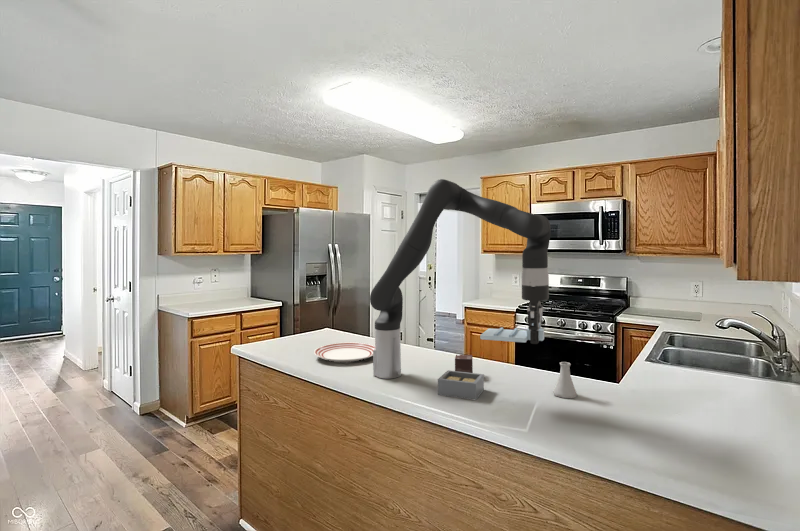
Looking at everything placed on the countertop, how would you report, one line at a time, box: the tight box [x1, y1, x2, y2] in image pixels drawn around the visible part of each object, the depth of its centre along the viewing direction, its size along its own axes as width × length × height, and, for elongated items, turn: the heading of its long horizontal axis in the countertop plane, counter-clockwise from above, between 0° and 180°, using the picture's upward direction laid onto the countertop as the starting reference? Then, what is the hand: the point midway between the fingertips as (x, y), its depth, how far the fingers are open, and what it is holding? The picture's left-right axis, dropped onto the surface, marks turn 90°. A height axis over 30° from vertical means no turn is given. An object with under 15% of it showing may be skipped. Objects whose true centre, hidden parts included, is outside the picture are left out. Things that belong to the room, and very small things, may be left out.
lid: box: [479, 327, 545, 343], centre depth 129 cm, size 17×11×3 cm, turn 66°
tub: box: [437, 369, 485, 401], centre depth 136 cm, size 12×10×6 cm
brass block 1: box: [447, 376, 461, 381], centre depth 137 cm, size 4×4×4 cm
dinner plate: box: [313, 341, 375, 363], centre depth 184 cm, size 28×27×3 cm
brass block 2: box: [462, 378, 476, 382], centre depth 135 cm, size 4×4×4 cm
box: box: [454, 354, 474, 373], centre depth 153 cm, size 6×6×7 cm
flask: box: [552, 361, 578, 399], centre depth 134 cm, size 7×7×10 cm
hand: (535, 341), depth 126 cm, fingers closed on lid, 3 cm apart
